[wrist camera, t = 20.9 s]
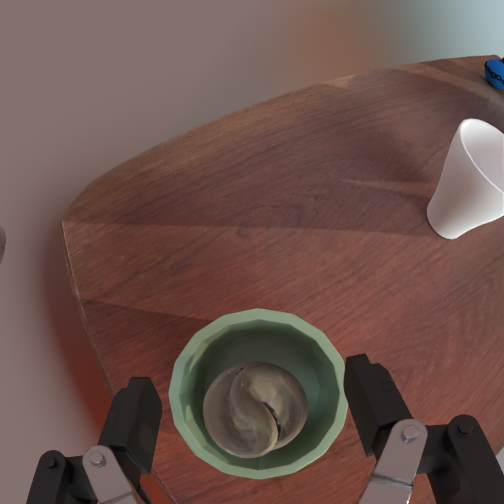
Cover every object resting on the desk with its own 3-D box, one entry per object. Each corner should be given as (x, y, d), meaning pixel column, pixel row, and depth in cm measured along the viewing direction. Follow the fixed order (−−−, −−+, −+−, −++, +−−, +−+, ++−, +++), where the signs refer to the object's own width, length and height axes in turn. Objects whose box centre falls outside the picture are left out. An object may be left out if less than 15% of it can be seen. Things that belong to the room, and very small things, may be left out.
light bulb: (259, 429, 25) (249, 485, 11) (220, 390, 27) (172, 408, 13) (301, 391, 26) (336, 411, 12) (262, 352, 28) (257, 334, 14)
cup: (436, 267, 30) (503, 211, 18) (397, 194, 34) (440, 120, 22) (485, 241, 31) (544, 190, 19) (449, 179, 35) (492, 116, 23)
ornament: (508, 93, 46) (522, 68, 37) (500, 97, 45) (515, 70, 36) (485, 72, 49) (497, 47, 40) (475, 75, 48) (488, 47, 39)
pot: (174, 402, 27) (138, 412, 18) (243, 304, 30) (234, 277, 22) (279, 468, 23) (283, 504, 15) (348, 367, 27) (380, 364, 19)
